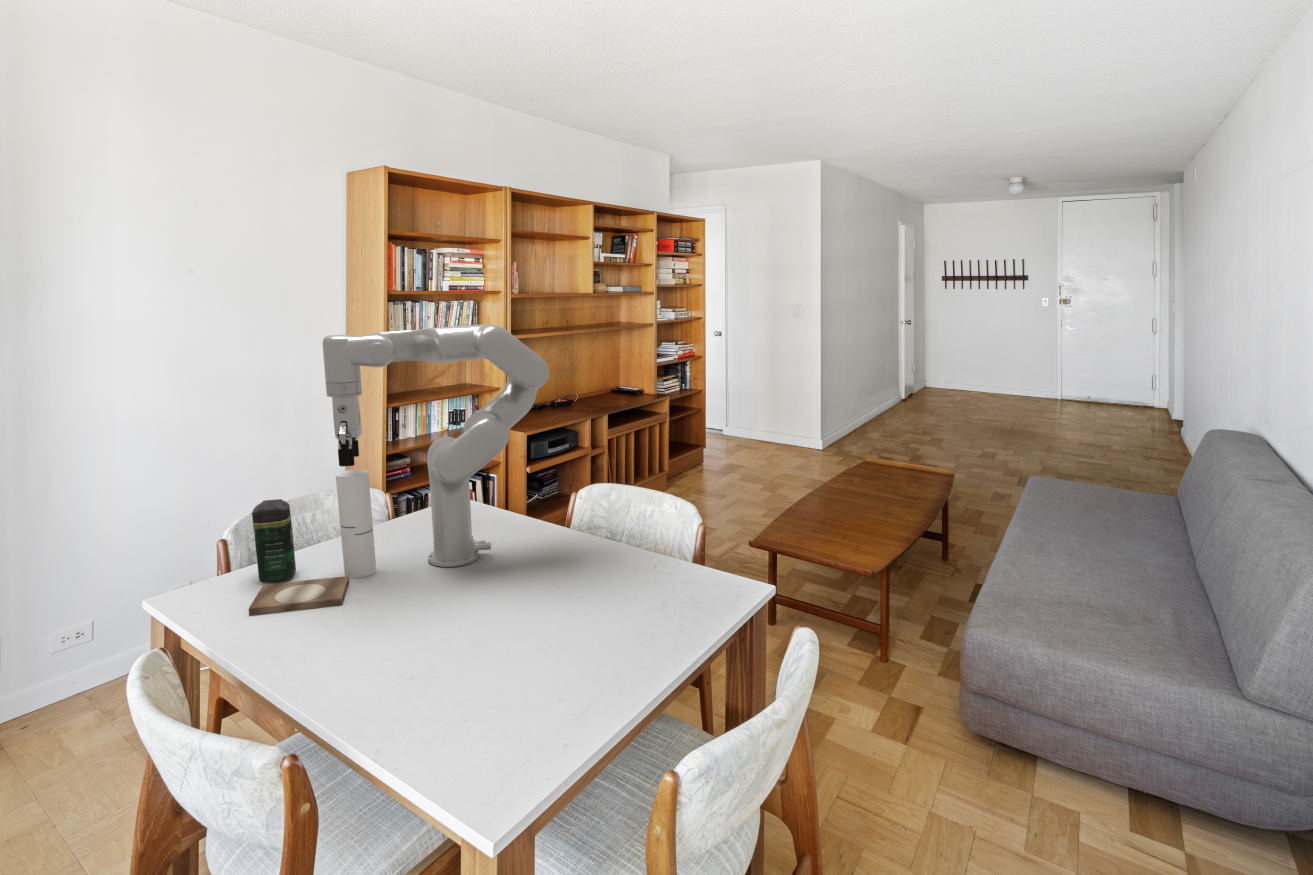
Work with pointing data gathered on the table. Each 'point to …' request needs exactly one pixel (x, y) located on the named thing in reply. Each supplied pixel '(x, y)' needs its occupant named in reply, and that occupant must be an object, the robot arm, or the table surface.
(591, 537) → the table surface
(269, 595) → the walnut board
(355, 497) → the cylindrical container
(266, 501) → the coffee jar
